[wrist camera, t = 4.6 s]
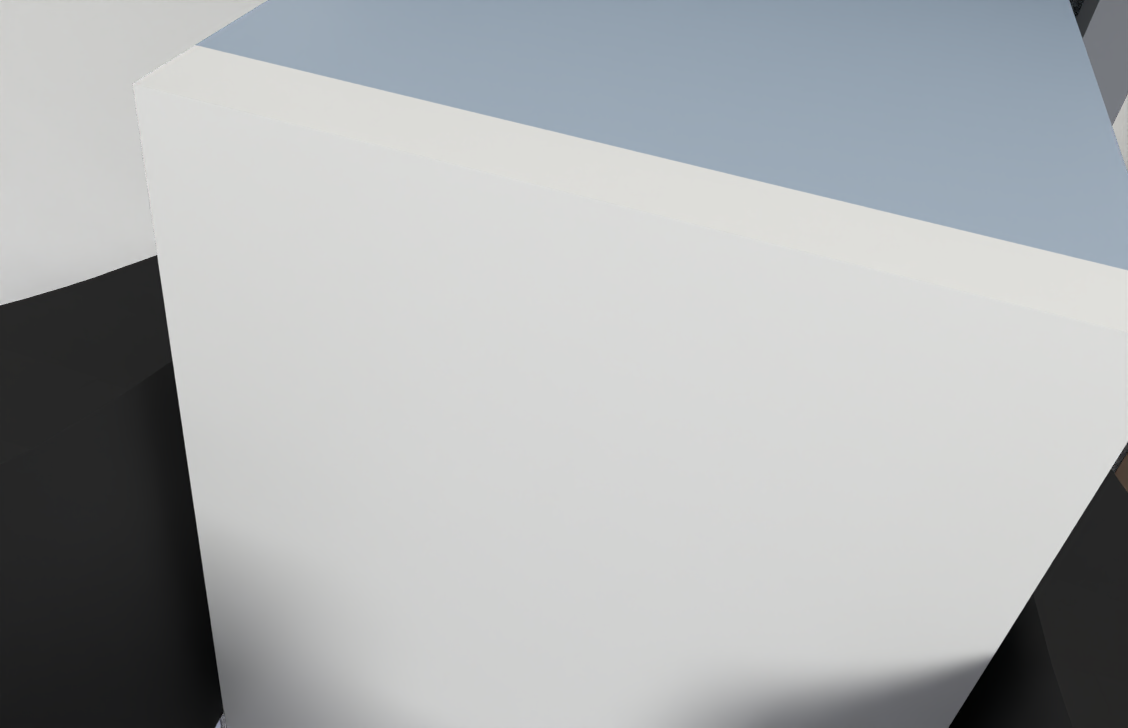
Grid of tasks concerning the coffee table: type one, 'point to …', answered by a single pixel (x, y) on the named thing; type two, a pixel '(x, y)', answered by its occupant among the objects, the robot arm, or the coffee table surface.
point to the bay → (1107, 48)
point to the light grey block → (634, 351)
